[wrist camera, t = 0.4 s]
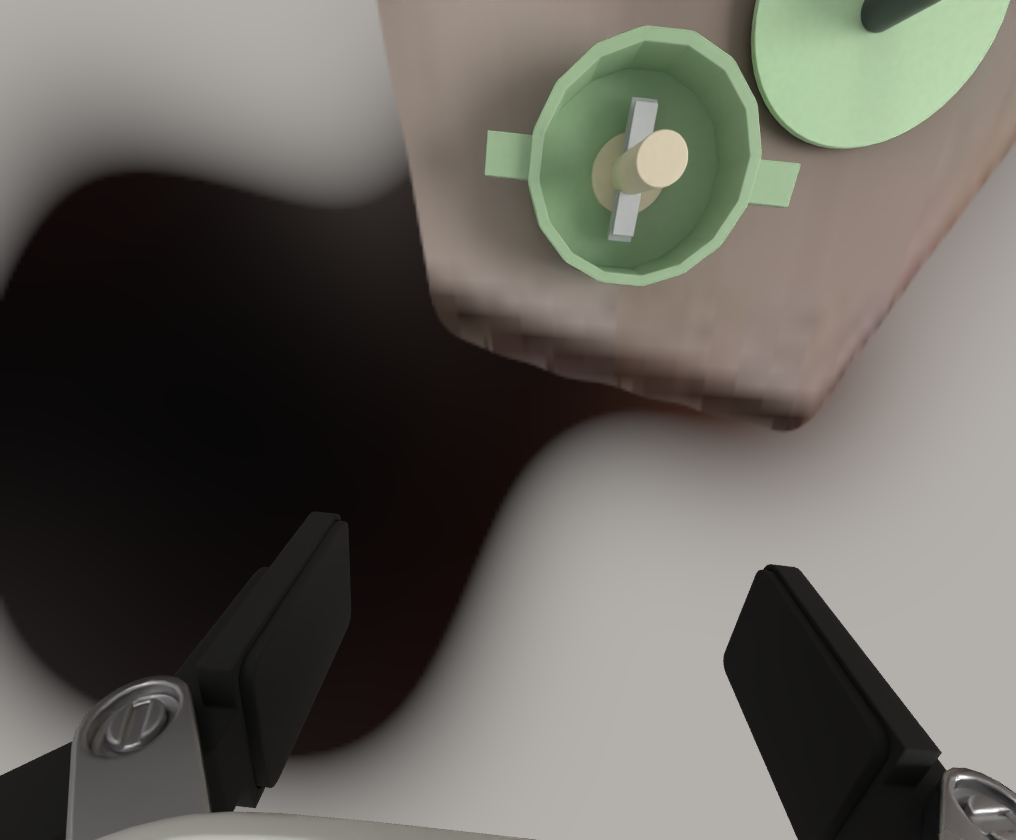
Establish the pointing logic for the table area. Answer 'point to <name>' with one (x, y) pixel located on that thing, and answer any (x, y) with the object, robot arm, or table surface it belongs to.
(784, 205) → the pot
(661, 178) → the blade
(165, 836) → the robot arm
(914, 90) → the lid
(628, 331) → the table surface
